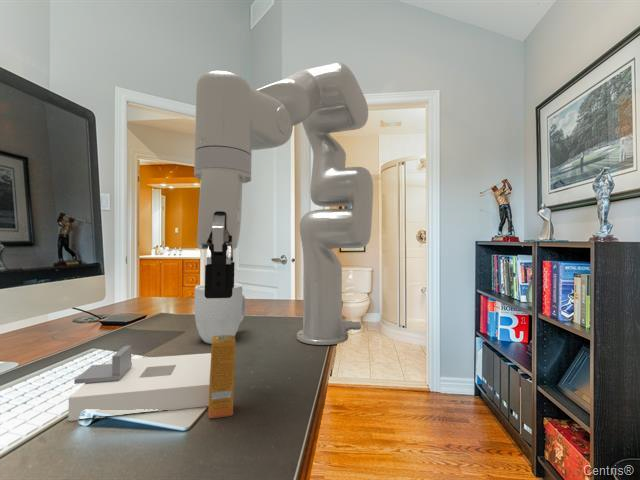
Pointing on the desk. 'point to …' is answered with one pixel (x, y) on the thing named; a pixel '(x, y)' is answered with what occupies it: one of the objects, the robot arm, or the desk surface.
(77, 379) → the grey l-shaped bracket
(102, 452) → the desk surface
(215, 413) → the supplement box
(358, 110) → the robot arm
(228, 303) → the mug
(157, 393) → the socket block
